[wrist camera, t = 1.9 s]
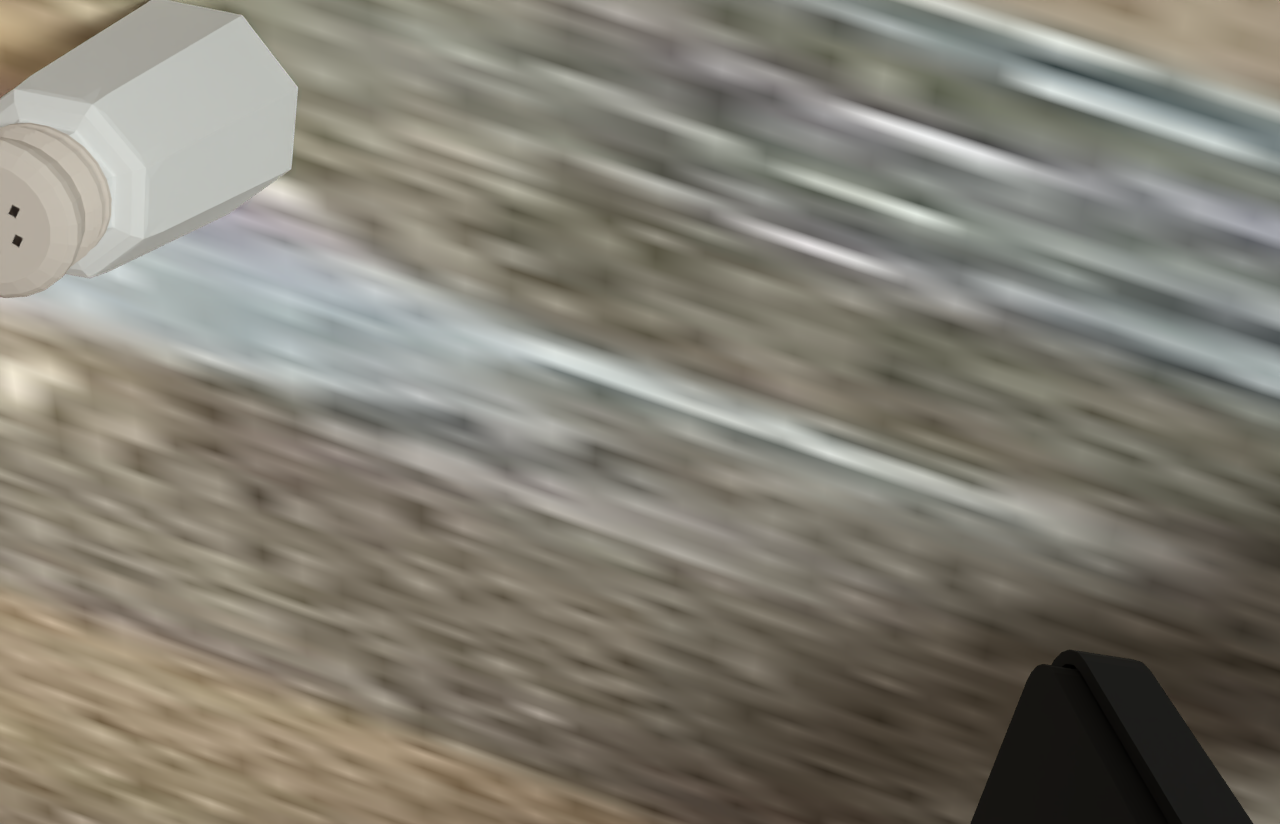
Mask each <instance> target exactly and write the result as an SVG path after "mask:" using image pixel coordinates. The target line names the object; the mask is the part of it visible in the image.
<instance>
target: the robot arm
mask: <svg viewBox="0 0 1280 824" xmlns="http://www.w3.org/2000/svg"><path fill="white" fill-rule="evenodd" d="M971 824H1253V823H1252V821H1251V820H1250V818H1249V817H1248V815H1247V814H1246V812H1245V811H1244V809H1243V808H1242V806H1241V805H1240V803H1239V802H1238V800H1237V799H1236V797H1235V796H1234V794H1233V793H1232V791H1231V790H1230V788H1229V787H1228V785H1227V784H1226V782H1225V781H1224V779H1223V778H1222V776H1221V775H1220V774H1219V772H1218V771H1217V769H1216V768H1215V766H1214V765H1213V763H1212V762H1211V760H1210V759H1209V757H1208V756H1207V754H1206V753H1205V751H1204V750H1203V748H1202V747H1201V745H1200V744H1199V742H1198V741H1197V739H1196V738H1195V736H1194V735H1193V733H1192V732H1191V730H1190V729H1189V727H1188V726H1187V724H1186V723H1185V722H1184V720H1183V719H1182V717H1181V716H1180V714H1179V713H1178V711H1177V710H1176V708H1175V707H1174V705H1173V704H1172V702H1171V701H1170V699H1169V698H1168V696H1167V695H1166V693H1165V692H1164V690H1163V689H1162V687H1161V686H1160V684H1159V683H1158V681H1157V680H1156V678H1155V677H1154V675H1153V674H1152V672H1151V671H1150V670H1149V669H1148V668H1147V667H1146V666H1145V665H1144V664H1143V663H1142V662H1139V661H1136V660H1132V659H1126V658H1119V657H1113V656H1107V655H1100V654H1094V653H1088V652H1081V651H1075V650H1067V651H1064V652H1062V653H1061V654H1060V655H1059V656H1058V657H1057V658H1056V659H1055V660H1054V661H1053V663H1052V665H1045V664H1042V665H1039V666H1037V667H1036V668H1035V669H1034V670H1033V671H1032V672H1031V674H1030V676H1029V678H1028V680H1027V682H1026V685H1025V687H1024V690H1023V692H1022V695H1021V697H1020V700H1019V702H1018V705H1017V707H1016V710H1015V712H1014V715H1013V718H1012V720H1011V723H1010V725H1009V728H1008V730H1007V733H1006V735H1005V738H1004V740H1003V743H1002V745H1001V748H1000V750H999V753H998V755H997V758H996V761H995V763H994V766H993V768H992V771H991V773H990V776H989V778H988V781H987V783H986V786H985V788H984V791H983V793H982V796H981V798H980V801H979V804H978V806H977V809H976V811H975V814H974V816H973V819H972V821H971Z"/></svg>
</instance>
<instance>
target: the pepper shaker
mask: <svg viewBox="0 0 1280 824" xmlns="http://www.w3.org/2000/svg"><path fill="white" fill-rule="evenodd" d="M297 94H298V87H297V86H296V84H295V83H294V82H293V80H292V79H291V78H290V76H289V75H288V74H287V73H286V71H285V70H284V69H283V67H282V66H281V65H280V63H279V62H278V61H277V60H276V58H275V57H274V56H273V54H272V53H271V52H270V50H269V49H268V48H267V47H266V45H265V44H264V43H263V41H262V40H261V39H260V37H259V36H258V35H257V34H256V32H255V31H254V30H253V28H252V27H251V26H250V24H249V23H248V22H247V21H246V19H245V18H244V17H243V15H240V14H235V13H230V12H225V11H220V10H215V9H210V8H205V7H200V6H195V5H190V4H185V3H180V2H175V1H170V0H151V1H149V2H147V3H146V4H144V5H143V6H141V7H139V8H138V9H136V10H135V11H133V12H132V13H130V14H128V15H127V16H125V17H124V18H122V19H120V20H119V21H117V22H116V23H114V24H112V25H111V26H109V27H108V28H106V29H104V30H103V31H101V32H100V33H98V34H96V35H95V36H93V37H92V38H90V39H88V40H87V41H85V42H84V43H82V44H81V45H79V46H77V47H76V48H74V49H73V50H71V51H69V52H68V53H66V54H65V55H63V56H61V57H60V58H58V59H57V60H55V61H53V62H52V63H50V64H49V65H47V66H45V67H44V68H42V69H41V70H39V71H37V72H36V73H34V74H33V75H31V76H30V77H28V78H27V79H26V80H25V81H23V82H22V83H21V84H20V85H18V86H17V87H16V88H14V89H13V90H11V91H10V92H8V93H6V94H5V95H4V96H3V97H1V98H0V297H3V298H12V297H27V296H29V295H32V294H35V293H38V292H41V291H44V290H46V289H47V288H49V287H50V286H51V285H53V284H54V283H55V282H57V281H58V280H59V279H61V278H62V277H63V276H64V275H65V274H68V275H74V276H79V277H85V278H92V277H95V276H98V275H101V274H104V273H106V272H109V271H111V270H113V269H115V268H117V267H119V266H121V265H123V264H125V263H128V262H130V261H132V260H134V259H136V258H138V257H140V256H142V255H144V254H146V253H148V252H150V251H153V250H155V249H157V248H159V247H161V246H163V245H165V244H167V243H169V242H171V241H173V240H175V239H178V238H180V237H182V236H184V235H186V234H188V233H190V232H192V231H194V230H196V229H198V228H201V227H203V226H205V225H207V224H209V223H211V222H213V221H215V220H217V219H219V218H221V217H223V216H226V215H228V214H230V213H231V212H232V211H234V210H235V209H237V208H238V207H239V206H241V205H242V204H244V203H245V202H246V201H248V200H249V199H250V198H252V197H253V196H255V195H256V194H257V193H259V192H260V191H262V190H263V189H264V188H266V187H267V186H268V185H270V184H271V183H273V182H274V181H275V180H277V179H278V178H280V177H281V176H282V175H284V174H285V173H286V172H288V171H289V170H291V167H292V155H293V143H294V130H295V118H296V106H297Z"/></svg>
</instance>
